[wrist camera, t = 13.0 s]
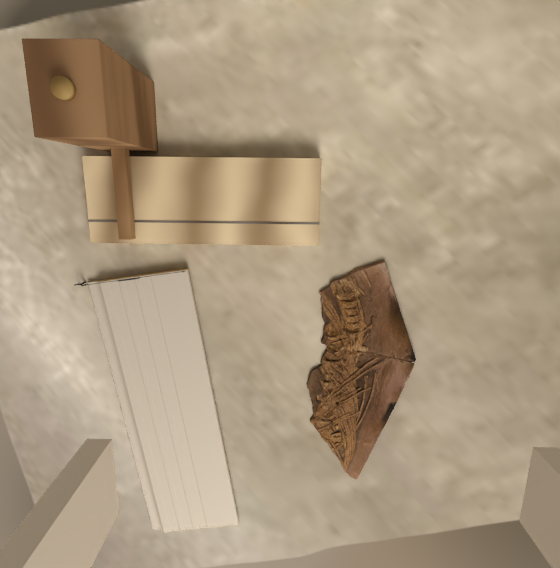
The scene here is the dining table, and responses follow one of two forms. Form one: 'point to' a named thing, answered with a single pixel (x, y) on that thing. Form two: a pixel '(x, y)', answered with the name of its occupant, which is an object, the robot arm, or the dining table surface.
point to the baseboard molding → (166, 398)
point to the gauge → (93, 107)
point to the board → (209, 200)
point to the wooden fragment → (359, 363)
